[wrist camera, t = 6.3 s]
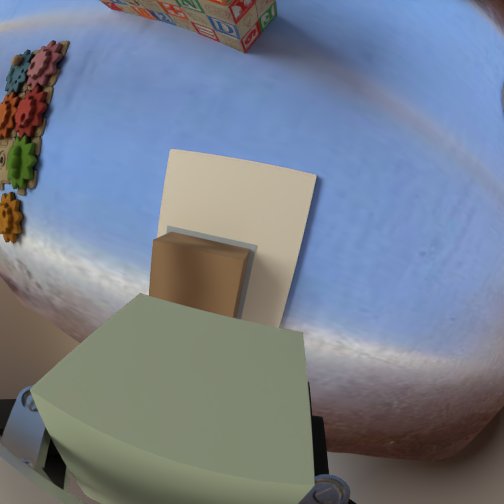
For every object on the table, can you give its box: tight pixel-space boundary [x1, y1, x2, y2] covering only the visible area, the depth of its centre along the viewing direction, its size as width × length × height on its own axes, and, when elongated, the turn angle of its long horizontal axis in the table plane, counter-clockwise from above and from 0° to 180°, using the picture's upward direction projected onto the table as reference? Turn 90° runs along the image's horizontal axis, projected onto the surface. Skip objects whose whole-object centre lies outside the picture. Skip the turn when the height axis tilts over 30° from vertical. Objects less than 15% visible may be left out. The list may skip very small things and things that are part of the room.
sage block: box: [30, 293, 315, 504], centre depth 7 cm, size 6×6×6 cm
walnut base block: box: [149, 232, 250, 318], centre depth 26 cm, size 8×8×4 cm
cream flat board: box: [157, 149, 317, 328], centre depth 27 cm, size 14×18×1 cm
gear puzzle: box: [0, 40, 69, 243], centre depth 26 cm, size 31×16×4 cm, turn 167°
